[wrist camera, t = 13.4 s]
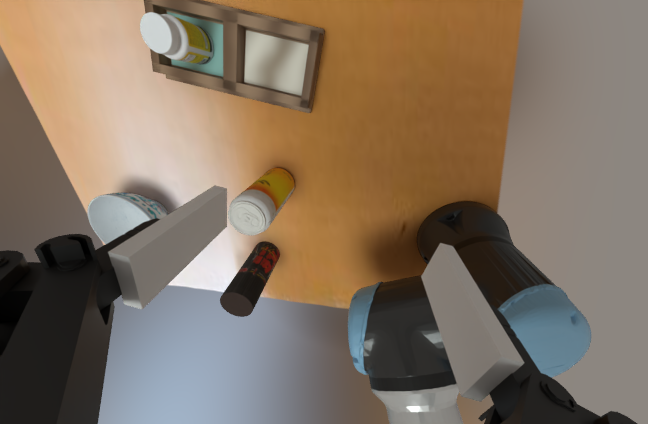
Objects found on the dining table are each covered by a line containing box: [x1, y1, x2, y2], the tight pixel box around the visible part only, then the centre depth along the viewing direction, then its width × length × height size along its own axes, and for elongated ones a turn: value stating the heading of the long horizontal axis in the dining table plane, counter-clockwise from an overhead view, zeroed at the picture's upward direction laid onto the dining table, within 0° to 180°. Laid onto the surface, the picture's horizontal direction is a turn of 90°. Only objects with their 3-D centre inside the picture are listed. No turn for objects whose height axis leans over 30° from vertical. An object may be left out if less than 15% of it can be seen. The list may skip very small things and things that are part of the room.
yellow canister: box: [228, 168, 295, 235], centre depth 38 cm, size 6×6×15 cm
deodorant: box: [220, 242, 280, 317], centre depth 46 cm, size 6×6×15 cm
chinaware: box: [88, 193, 168, 244], centre depth 49 cm, size 15×15×8 cm
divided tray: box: [144, 0, 325, 113], centre depth 34 cm, size 24×11×4 cm, turn 79°
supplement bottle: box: [140, 12, 214, 64], centre depth 31 cm, size 5×5×8 cm
